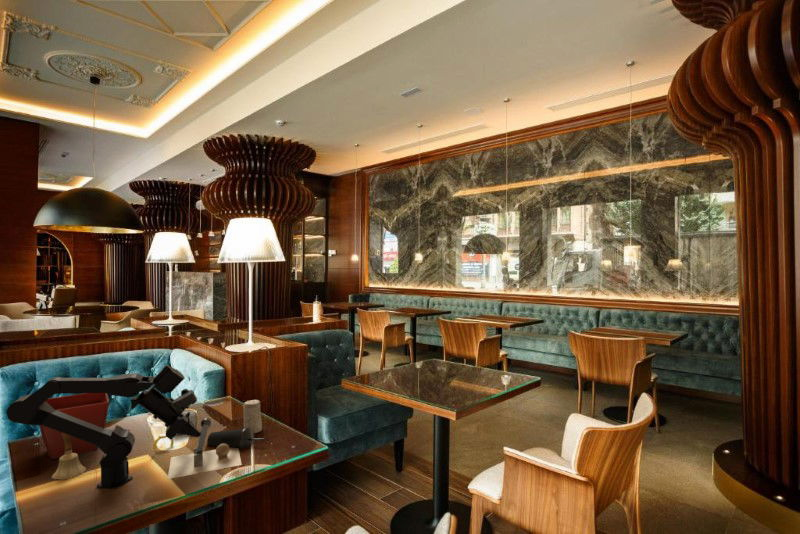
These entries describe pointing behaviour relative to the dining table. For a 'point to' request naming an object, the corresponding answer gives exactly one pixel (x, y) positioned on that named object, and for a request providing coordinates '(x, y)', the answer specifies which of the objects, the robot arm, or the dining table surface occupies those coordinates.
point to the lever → (203, 434)
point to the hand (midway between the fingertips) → (199, 435)
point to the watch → (159, 439)
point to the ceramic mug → (192, 417)
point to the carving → (252, 415)
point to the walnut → (222, 451)
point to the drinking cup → (232, 438)
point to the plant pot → (77, 406)
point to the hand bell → (68, 462)
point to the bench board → (202, 462)
